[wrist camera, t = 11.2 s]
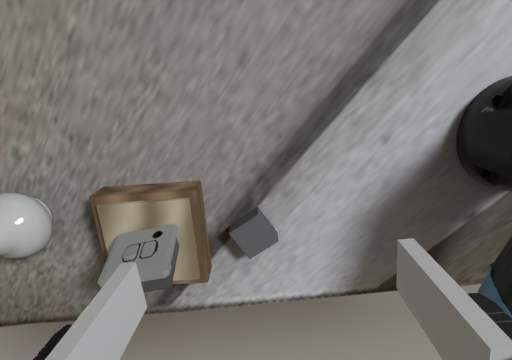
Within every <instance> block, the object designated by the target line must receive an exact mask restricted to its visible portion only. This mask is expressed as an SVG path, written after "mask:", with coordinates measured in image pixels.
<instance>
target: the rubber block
mask: <svg viewBox="0 0 512 360" xmlns="http://www.w3.org/2000/svg"><path fill="white" fill-rule="evenodd" d="M229 235H230V236H231V237H232V238H233V239H234V241H235V242H236V243H237V244H238V245H239V247H240V248H241V249H242V250H243V252H244V253H245V254H246V255H247V256H248V258H249V259H251V258H252V257H254V256H256V255H257V254H259V253H260V252H262V251H263V250H265V249H267V248H268V247H270V246H271V245H273V244H275V243H276V242H278V235H277V231H276V230H275V229H274V227H273V226H272V225H271V223H270V222H269V221H268V220H267V218H266V217H265V216H264V214H263V213H262V212H261V211H260V209H259V208H258V207H257V208H255V209H254V210H252V211H251V212H249V213H248V214H246V215H245V216H243V217H242V218H240V219H239V220H237V221H236V222H234V223H233V224H231V225H230V230H229Z"/></svg>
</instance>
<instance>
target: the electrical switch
mask: <svg viewBox="0 0 512 360" xmlns="http://www.w3.org/2000/svg"><path fill="white" fill-rule="evenodd" d="M178 232H179V229H178V227H177V225H176V224H170V225H165V226H160V227H155V228H149V229H144V230H139V231H134V232H129V233H123V234H120V235H119V236H117V238H116V240H115V242H114V245H113V247H112V249H111V252H110V254H109V256H108V259H107V261H106V263H105V265H104V268H103V270H102V272H101V275H100V277H99V279H98V285H99V287H100V288H102V287H103V286H104V285H105V283H106V282H107V281H108V280H109V278H110V277H111V276H112V275H113V273H114V272H115V271H116V269H117V268H118V267H119V266H120V264H121V263H131V262H136V265H137V269H138V273H139V276H140V280H141V284H142V288H143V292H149V291H154V290H160V289H165V288H171V286H172V282H173V277H174V272H175V267H176V261H177V256H178V251H179V246H180V245H179V243H178V241H177V235H178ZM173 252H174V253H173ZM169 283H170V284H169ZM161 286H162V287H161Z"/></svg>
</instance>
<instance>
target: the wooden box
mask: <svg viewBox="0 0 512 360" xmlns="http://www.w3.org/2000/svg"><path fill="white" fill-rule="evenodd" d="M89 199H90V203H91V208H92V212H93V216H94V220H95V224H96V228H97V232H98V236H99V241H100V245H101V249H102V253H103V257H104V261H105V263H106V261H107V259H108V256H109V254H110V252H111V249H112V247H113V245H114V242H115V240H116V238H117V236H119V235H120V234H123V233H129V232H134V231H139V230H144V229H149V228H155V227H160V226H165V225H170V224H176V225H177V227H178V229H179V232H178V235H177V241H178V243H179V245H180V246H179V251H178V256H177V261H176V267H175V272H174V277H173V282H172V284H187V283H204V282H208V279H209V275H210V271H211V259H210V251H209V243H208V235H207V227H206V219H205V211H204V203H203V195H202V187H201V181H191V182H175V183H160V184H144V185H129V186H114V187H103V188H101V189H100V190H98V191H97V192H96V193H94V194H93V195H91V196H90V197H89ZM173 253H174V252H173ZM169 284H170V283H169Z"/></svg>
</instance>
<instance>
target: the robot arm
mask: <svg viewBox="0 0 512 360" xmlns="http://www.w3.org/2000/svg"><path fill="white" fill-rule="evenodd" d="M457 153H458V157H459V160H460V162H461V164H462V166H463V167H464V169H465V170H466V171H467V172H468V173H469V174H470V175H471V176H472V177H473V178H475V179H476V180H478V181H480V182H483V183H485V184H487V185H489V186H492V187H495V188H499V189H503V190H512V76H510V77H507V78H504V79H502V80H500V81H498V82H496V83H494V84H492V85H491V86H489V87H488V88H486V89H485V90H484V91H483V92H482V93H480V94H479V95H478V96H477V97H476V98H475V99H474V101H473V102H472V103H471V104H470V106H469V107H468V109H467V110H466V112H465V114H464V116H463V118H462V120H461V122H460V125H459V129H458V133H457ZM396 288H397V290H398V291H399V293H400V294H401V296H402V297H403V299H404V300H405V302H406V303H407V305H408V306H409V308H410V310H411V311H412V313H413V314H414V316H415V317H416V319H417V321H418V322H419V324H420V325H421V327H422V328H423V330H424V331H425V333H426V334H427V336H428V338H429V339H430V341H431V342H432V344H433V345H434V347H435V348H436V350H437V351H438V353H439V355H440V356H441V358H442V359H443V360H512V236H511V238H510V239H509V241H508V242H507V244H506V245H505V247H504V248H503V250H502V251H501V253H500V254H499V256H498V257H497V259H496V260H495V262H493V263H492V264H491V265H490V266H489V268H488V272H487V276H486V278H485V279H484V281H483V283H482V285H481V286H480V288H479V290H478V293H470V294H467V293H466V292H465V291H464V290H463V289H462V288H461V287H460V286H459V285H458V284H457V283H456V282H455V281H454V280H453V279H452V278H451V277H450V276H449V275H448V274H447V273H446V272H445V271H444V269H443V268H442V267H441V266H440V265H439V264H438V263H437V262H436V261H435V260H434V259H433V258H432V257H431V256H430V255H429V254H428V253H427V252H426V251H425V250H424V249H423V248H422V247H421V246H420V245H419V244H418V243H417V241H416V240H415V239H414V238H410V239H399V240H397V280H396ZM146 308H147V304H146V300H145V296H144V292H143V288H142V284H141V280H140V276H139V273H138V269H137V265H136V262H131V263H121V264H120V266H119V267H118V268H117V269H116V271H115V272H114V273H113V275H112V276H111V277H110V278H109V280H108V281H107V282H106V283H105V285H104V286H103V287H102V288H101V290H100V291H99V292H98V293H97V295H96V296H95V297H94V298H93V300H92V301H91V302H90V303H89V305H88V306H87V307H86V309H85V310H84V311H83V312H82V314H81V315H80V316H79V317H78V319H77V320H76V321H75V322H74V324H72V325H66V326H64V327H63V328H62V329H61V330H59V331H58V332H57V333H55V334H54V335H53V337H52V338H51V339H50V340H49V341H48V343H47V344H46V345H45V347H44V348H42V350H41V351H40V352H39V353H38V356H36V357H35V358H34V359H33V360H120V358H121V356H122V354H123V352H124V351H125V349H126V346H127V345H128V343H129V341H130V339H131V337H132V335H133V333H134V331H135V329H136V328H137V326H138V324H139V322H140V320H141V318H142V316H143V314H144V312H145V310H146Z"/></svg>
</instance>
